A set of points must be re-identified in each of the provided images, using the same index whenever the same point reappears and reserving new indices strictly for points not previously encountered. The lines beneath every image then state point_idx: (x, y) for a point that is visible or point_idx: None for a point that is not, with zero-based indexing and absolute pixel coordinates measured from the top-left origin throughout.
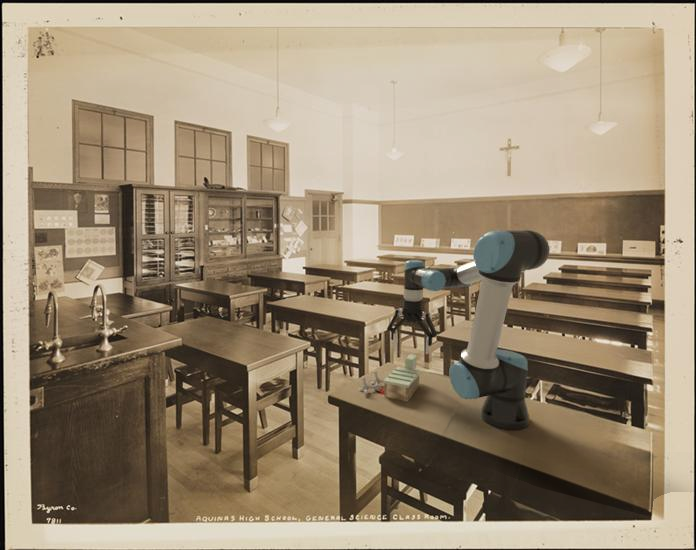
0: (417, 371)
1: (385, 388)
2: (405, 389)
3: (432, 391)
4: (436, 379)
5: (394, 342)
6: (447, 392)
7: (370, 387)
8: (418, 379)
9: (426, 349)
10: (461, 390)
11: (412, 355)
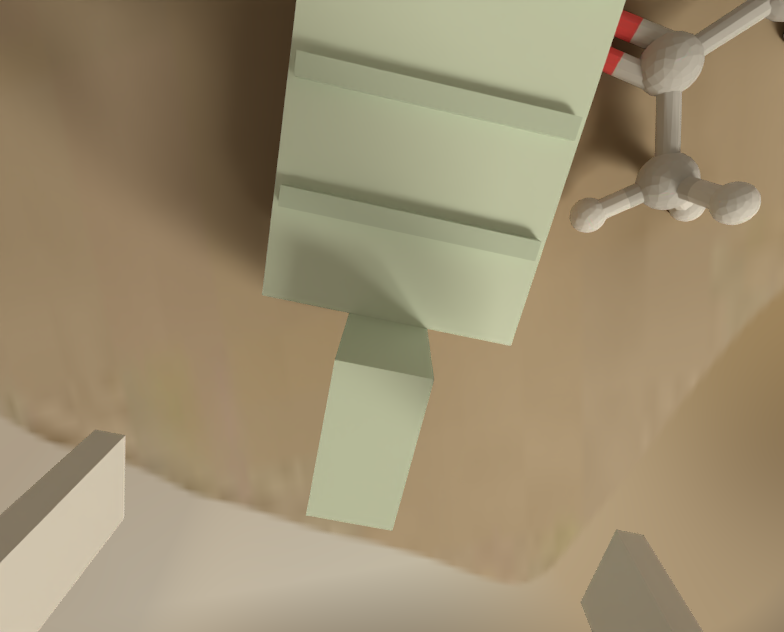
0: (288, 268)
1: None
2: None
3: (196, 206)
4: (207, 420)
5: (679, 629)
6: (86, 217)
7: (741, 5)
8: None
9: (62, 485)
10: None
11: (354, 496)
